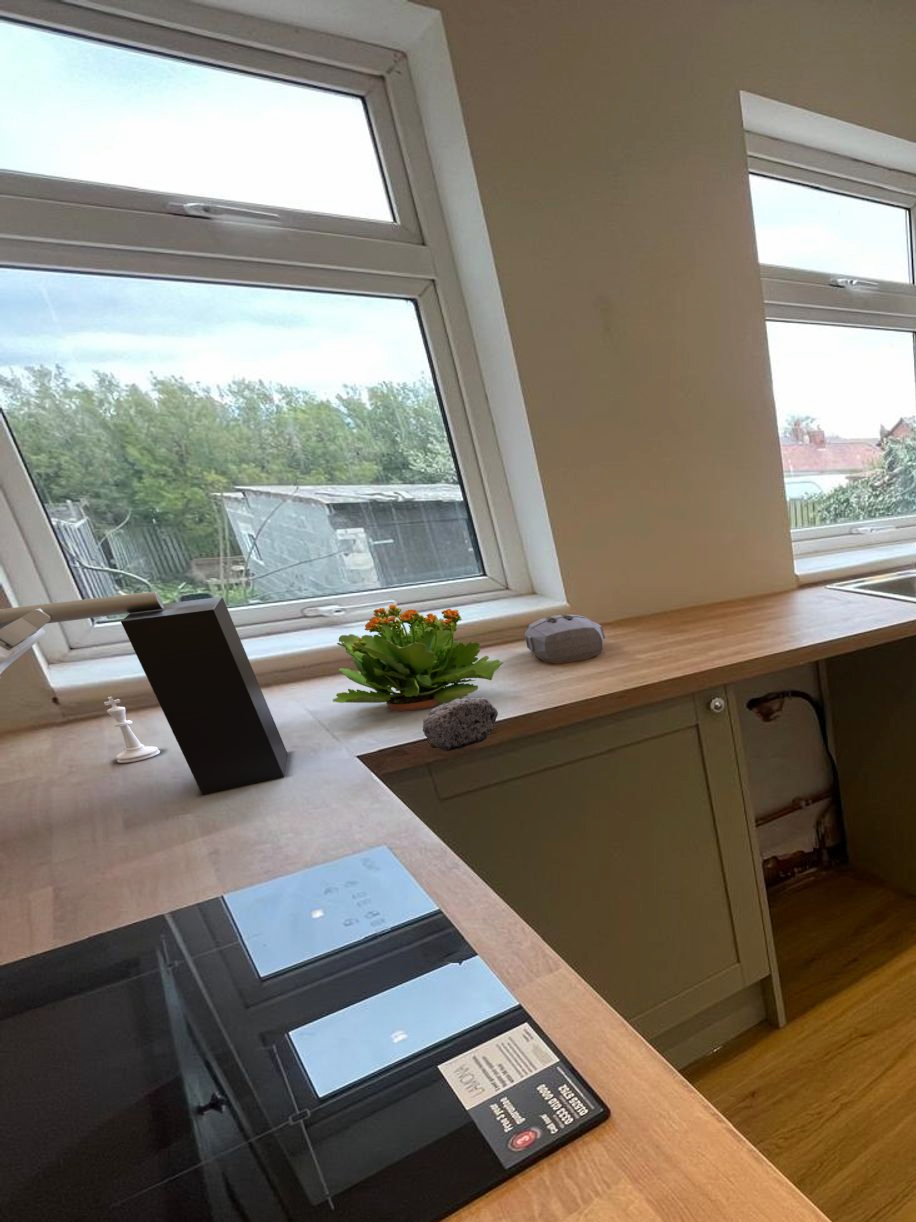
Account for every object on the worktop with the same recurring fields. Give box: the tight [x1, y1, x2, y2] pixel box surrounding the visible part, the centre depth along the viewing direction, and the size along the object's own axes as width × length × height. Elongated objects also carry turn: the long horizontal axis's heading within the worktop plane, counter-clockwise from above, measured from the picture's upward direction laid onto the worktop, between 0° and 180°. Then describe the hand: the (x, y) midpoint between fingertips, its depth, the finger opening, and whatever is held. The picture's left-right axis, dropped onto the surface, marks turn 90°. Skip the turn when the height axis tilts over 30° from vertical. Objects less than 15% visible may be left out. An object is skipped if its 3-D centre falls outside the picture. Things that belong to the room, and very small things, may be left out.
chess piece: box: [103, 696, 161, 764], centre depth 127 cm, size 5×5×10 cm
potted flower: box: [332, 604, 504, 712], centre depth 145 cm, size 25×24×18 cm
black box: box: [120, 596, 288, 796], centre depth 115 cm, size 9×12×25 cm
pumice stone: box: [422, 697, 499, 752], centre depth 128 cm, size 10×8×10 cm
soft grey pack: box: [524, 613, 606, 664], centre depth 176 cm, size 15×8×20 cm
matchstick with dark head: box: [0, 591, 164, 629], centre depth 105 cm, size 18×3×3 cm, turn 128°
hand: (49, 610), depth 104 cm, fingers closed on matchstick with dark head, 2 cm apart
